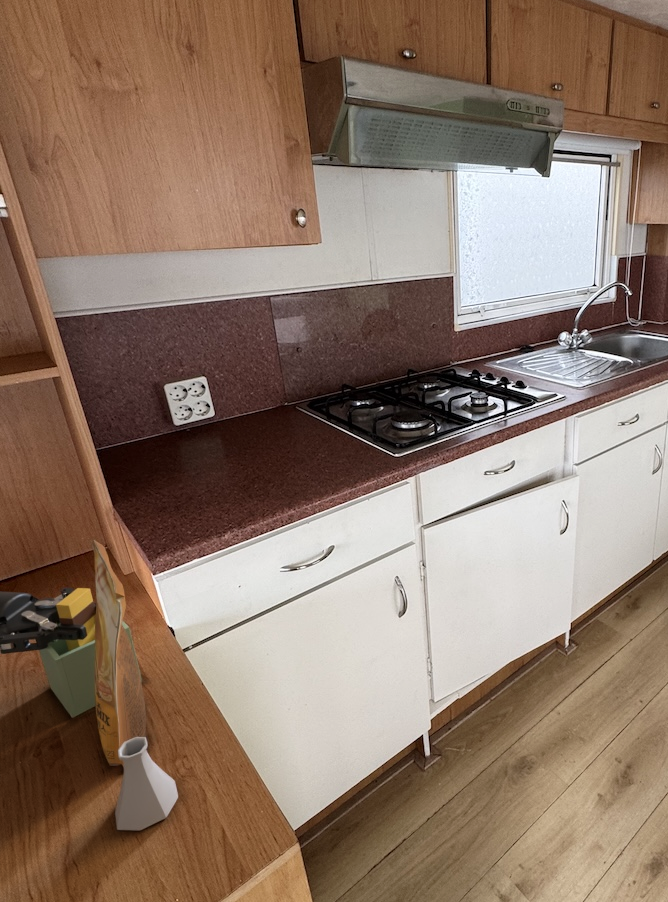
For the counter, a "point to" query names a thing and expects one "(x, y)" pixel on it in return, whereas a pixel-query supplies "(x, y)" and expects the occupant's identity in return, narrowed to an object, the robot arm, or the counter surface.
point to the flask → (142, 788)
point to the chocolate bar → (78, 614)
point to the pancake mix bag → (114, 665)
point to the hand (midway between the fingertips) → (96, 621)
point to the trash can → (74, 673)
